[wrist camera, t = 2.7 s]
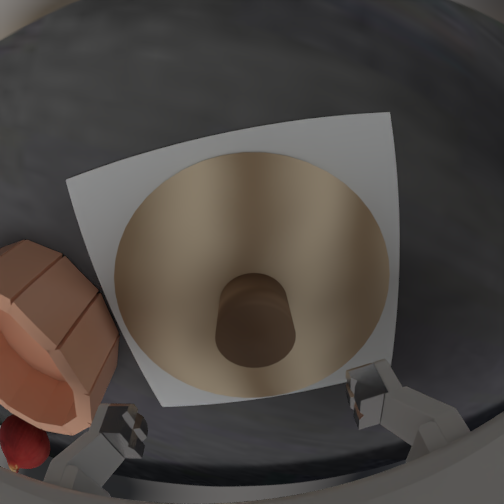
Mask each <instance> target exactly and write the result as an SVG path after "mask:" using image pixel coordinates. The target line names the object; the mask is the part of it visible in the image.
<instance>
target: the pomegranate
mask: <svg viewBox="0 0 504 504" xmlns="http://www.w3.org/2000/svg"><path fill="white" fill-rule="evenodd" d="M0 445H1V448H2V451H3V453H4V455H5V457H6V459H7V462H8V465H9V468H10V469H11V470H12V471H13V472H16V473H18V470H19V468H24V469H30V468H35V467H38V466H40V465H41V464H42V463H43V462H44V461H45V460H46V459H47V457H48V456H49V452H50V443H49V439H48V436H47V433H46V431H45V430H42V428H41V429H39V428H37V427H36V426H34V425H32V424H30V423H28V422H26V421H25V420H23V419H21V418H19V417H18V416H16V415H14V414H13V415H11V416H9V417H7V419H6V420H5V421H4V422H3V423H2V425H1V428H0Z"/></svg>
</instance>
